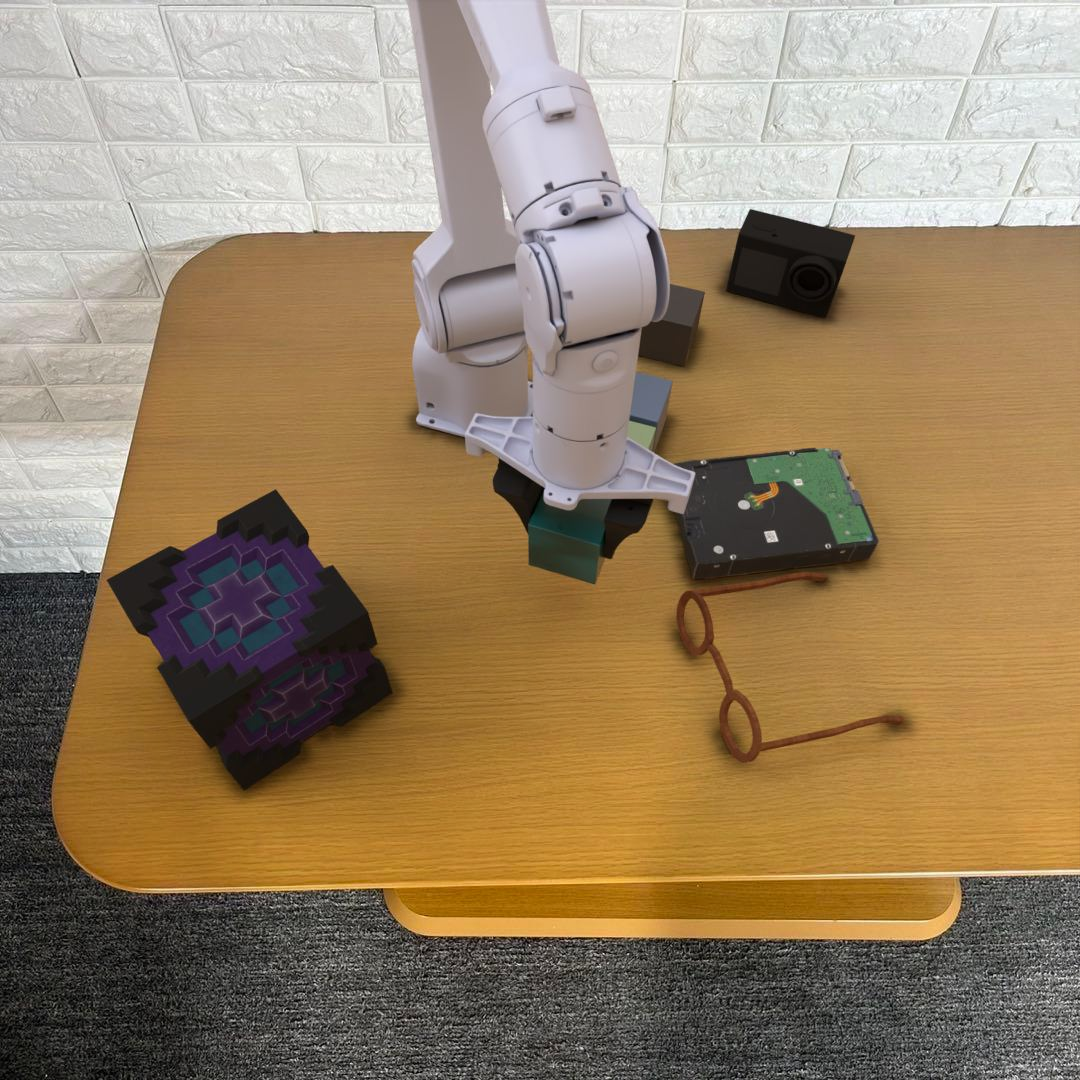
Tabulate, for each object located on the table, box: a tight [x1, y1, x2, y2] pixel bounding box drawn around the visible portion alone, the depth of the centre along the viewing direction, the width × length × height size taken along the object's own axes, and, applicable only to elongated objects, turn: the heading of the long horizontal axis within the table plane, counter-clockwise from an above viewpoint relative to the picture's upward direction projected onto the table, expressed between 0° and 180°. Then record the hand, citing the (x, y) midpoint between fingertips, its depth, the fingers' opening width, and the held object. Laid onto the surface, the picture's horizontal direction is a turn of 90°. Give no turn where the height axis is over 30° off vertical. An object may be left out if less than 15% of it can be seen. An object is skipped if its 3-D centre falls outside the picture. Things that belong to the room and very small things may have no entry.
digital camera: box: [725, 208, 856, 319], centre depth 87 cm, size 10×5×7 cm, turn 67°
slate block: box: [629, 371, 674, 453], centre depth 78 cm, size 5×5×5 cm
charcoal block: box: [638, 283, 706, 368], centre depth 84 cm, size 5×5×5 cm
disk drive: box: [671, 447, 880, 580], centre depth 73 cm, size 10×3×15 cm
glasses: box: [676, 571, 906, 764], centre depth 65 cm, size 13×13×5 cm
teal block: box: [527, 488, 612, 586], centre depth 63 cm, size 5×5×5 cm
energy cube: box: [106, 489, 394, 791], centre depth 61 cm, size 12×12×12 cm
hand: (572, 536), depth 63 cm, fingers closed on teal block, 5 cm apart
